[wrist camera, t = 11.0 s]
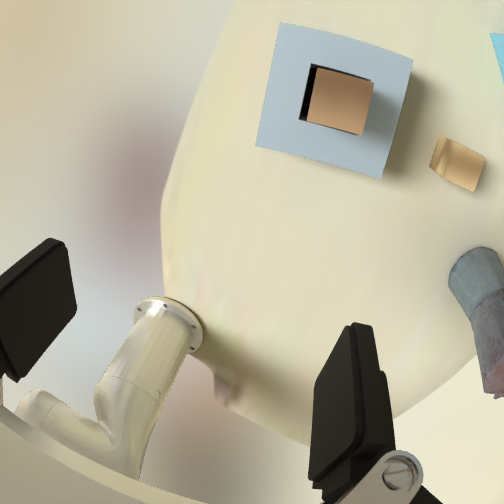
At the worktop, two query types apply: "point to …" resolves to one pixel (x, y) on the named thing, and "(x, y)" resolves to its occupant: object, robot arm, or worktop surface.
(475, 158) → the oak peg short
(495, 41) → the blue hollow-base tower
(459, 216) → the worktop surface
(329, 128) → the socket block
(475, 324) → the moka pot
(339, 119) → the walnut peg long
